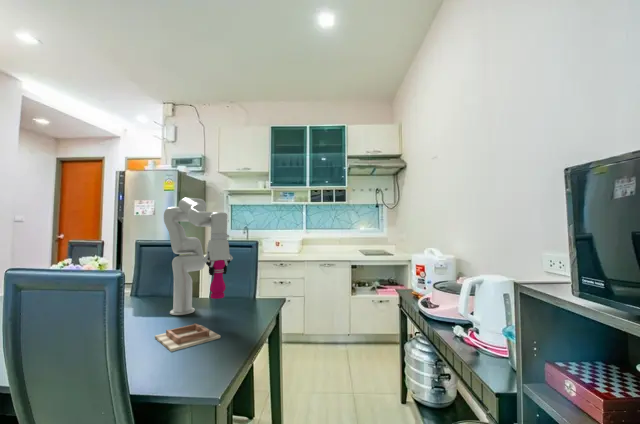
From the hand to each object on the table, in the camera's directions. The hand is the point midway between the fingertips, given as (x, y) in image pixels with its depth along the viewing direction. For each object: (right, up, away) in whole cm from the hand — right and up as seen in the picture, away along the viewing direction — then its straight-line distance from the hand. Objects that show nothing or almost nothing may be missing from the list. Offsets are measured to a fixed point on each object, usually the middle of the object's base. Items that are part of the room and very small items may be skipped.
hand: (217, 274), depth 148 cm
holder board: (-7, -24, -18) cm, 31 cm away
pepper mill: (0, -11, -1) cm, 11 cm away
